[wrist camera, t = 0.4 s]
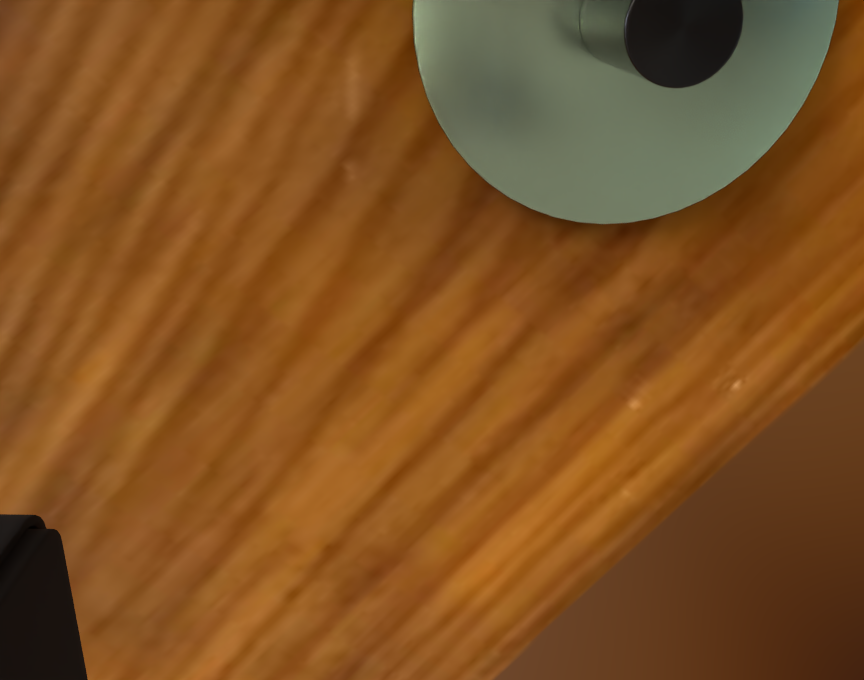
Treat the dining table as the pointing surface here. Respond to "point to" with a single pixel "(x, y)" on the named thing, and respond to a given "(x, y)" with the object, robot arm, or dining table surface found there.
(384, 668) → the dining table surface
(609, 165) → the lid
